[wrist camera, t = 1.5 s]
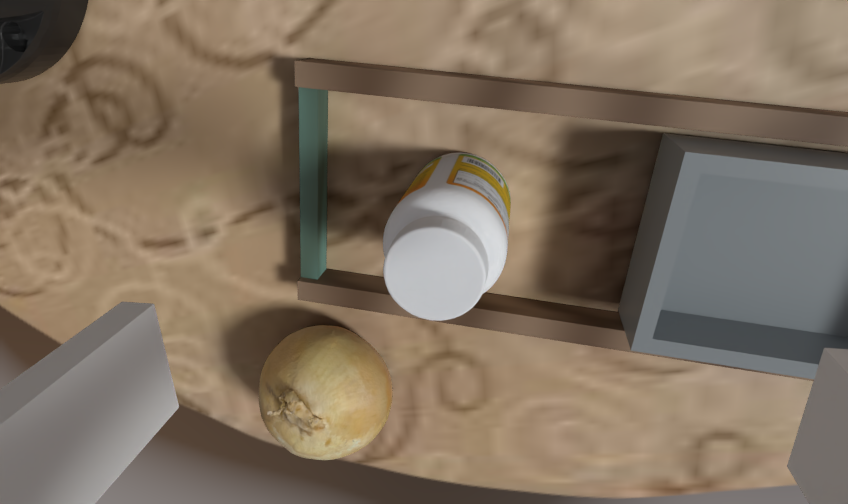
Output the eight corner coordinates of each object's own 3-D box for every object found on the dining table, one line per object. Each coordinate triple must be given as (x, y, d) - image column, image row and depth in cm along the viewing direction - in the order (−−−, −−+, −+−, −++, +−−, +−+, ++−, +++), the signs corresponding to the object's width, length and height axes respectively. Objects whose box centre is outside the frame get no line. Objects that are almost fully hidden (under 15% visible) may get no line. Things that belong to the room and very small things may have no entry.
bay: (310, 284, 33) (297, 299, 31) (309, 57, 28) (294, 60, 26) (873, 370, 29) (896, 393, 28) (993, 127, 24) (1031, 136, 22)
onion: (425, 358, 34) (402, 438, 28) (360, 434, 37) (326, 521, 31) (318, 285, 33) (268, 349, 27) (261, 369, 37) (205, 444, 30)
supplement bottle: (420, 250, 31) (379, 341, 22) (403, 157, 29) (351, 217, 20) (516, 241, 30) (512, 334, 21) (505, 144, 28) (495, 201, 19)
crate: (618, 310, 30) (630, 350, 26) (663, 133, 26) (685, 151, 22) (890, 350, 28) (944, 400, 25) (981, 168, 24) (1062, 194, 21)
